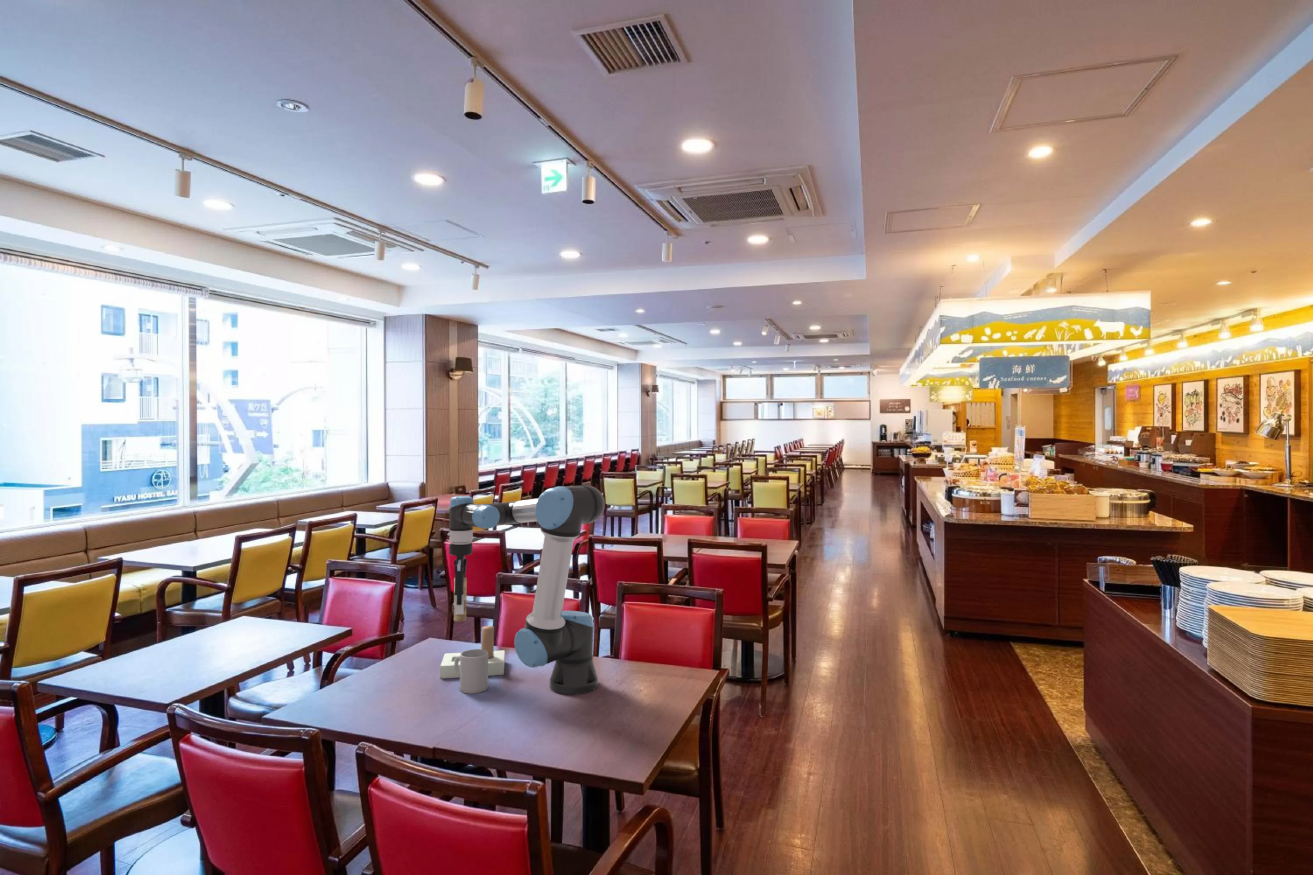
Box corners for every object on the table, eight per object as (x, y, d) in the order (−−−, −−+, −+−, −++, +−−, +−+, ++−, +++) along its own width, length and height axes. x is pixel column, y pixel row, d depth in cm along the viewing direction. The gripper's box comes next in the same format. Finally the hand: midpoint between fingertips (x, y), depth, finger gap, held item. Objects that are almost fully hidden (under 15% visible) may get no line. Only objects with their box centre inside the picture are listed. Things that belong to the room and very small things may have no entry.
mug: (493, 686, 209) (494, 651, 209) (475, 695, 201) (475, 659, 201) (464, 680, 214) (464, 645, 214) (445, 688, 206) (445, 653, 206)
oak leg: (466, 618, 225) (467, 576, 225) (465, 621, 221) (466, 579, 221) (454, 618, 225) (454, 577, 225) (452, 621, 220) (453, 579, 221)
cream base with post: (504, 661, 232) (504, 621, 232) (503, 674, 219) (503, 631, 219) (444, 665, 228) (445, 624, 228) (440, 678, 215) (440, 635, 215)
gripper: (451, 538, 231) (451, 606, 231) (446, 546, 214) (445, 619, 214) (474, 538, 232) (473, 605, 232) (470, 546, 215) (469, 618, 215)
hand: (459, 612), depth 223 cm, fingers closed on oak leg, 4 cm apart
